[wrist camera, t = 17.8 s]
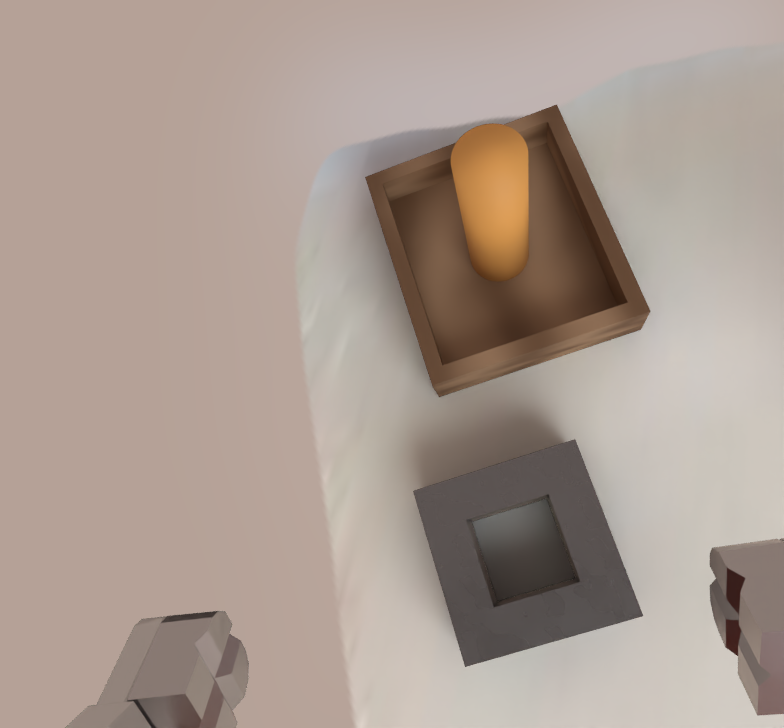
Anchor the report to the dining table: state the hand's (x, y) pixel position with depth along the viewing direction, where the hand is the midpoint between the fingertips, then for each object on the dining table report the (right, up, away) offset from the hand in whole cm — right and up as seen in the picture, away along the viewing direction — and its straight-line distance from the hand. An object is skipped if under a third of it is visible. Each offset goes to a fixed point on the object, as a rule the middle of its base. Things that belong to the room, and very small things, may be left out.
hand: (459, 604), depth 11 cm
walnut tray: (+6, +11, +35) cm, 37 cm away
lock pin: (+6, +12, +34) cm, 37 cm away
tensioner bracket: (+7, -8, +30) cm, 31 cm away
